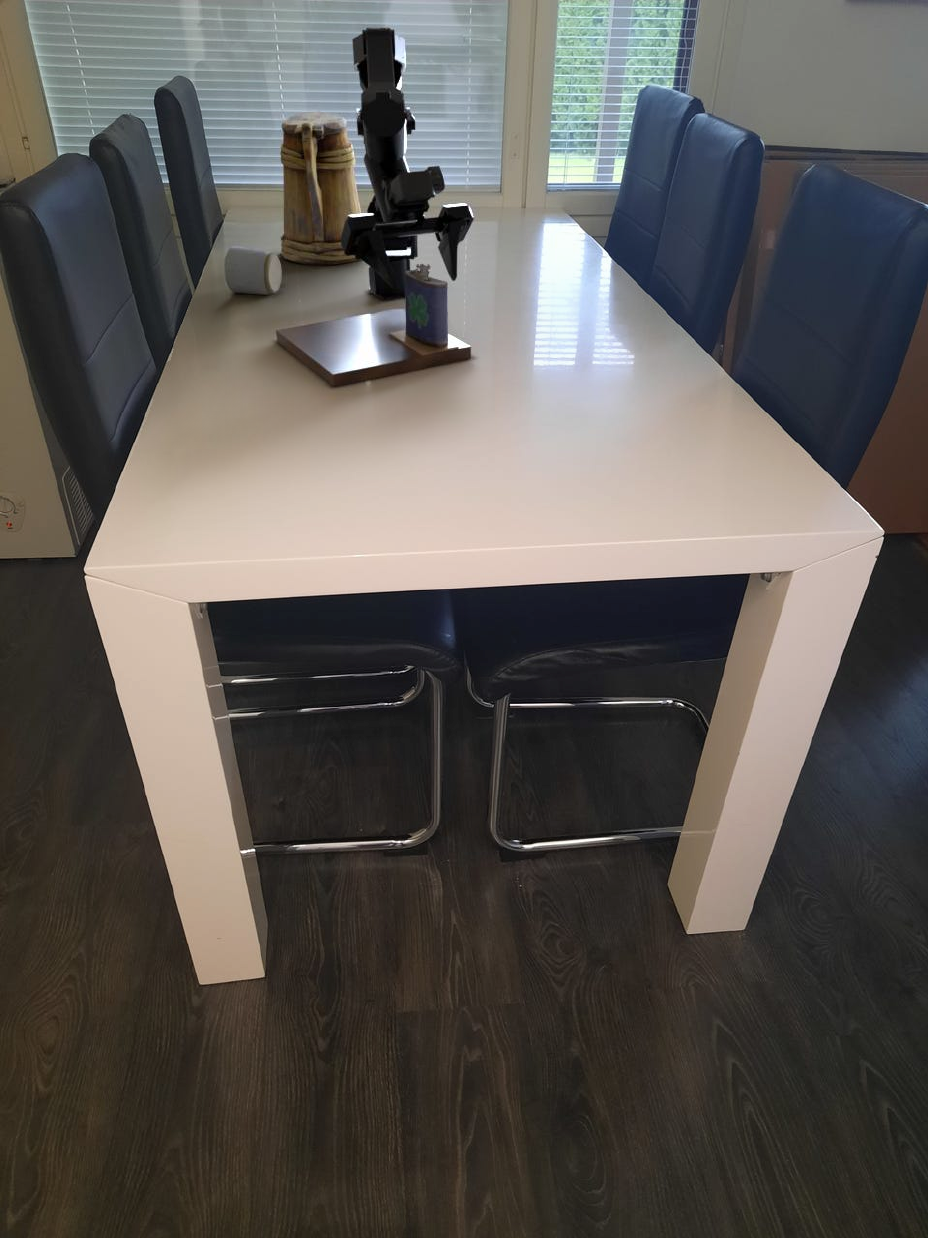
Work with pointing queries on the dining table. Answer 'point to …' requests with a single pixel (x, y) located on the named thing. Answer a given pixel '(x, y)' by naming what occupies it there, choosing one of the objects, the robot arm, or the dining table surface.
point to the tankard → (317, 188)
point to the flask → (426, 307)
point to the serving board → (365, 347)
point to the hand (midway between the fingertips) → (425, 282)
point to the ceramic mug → (252, 271)
